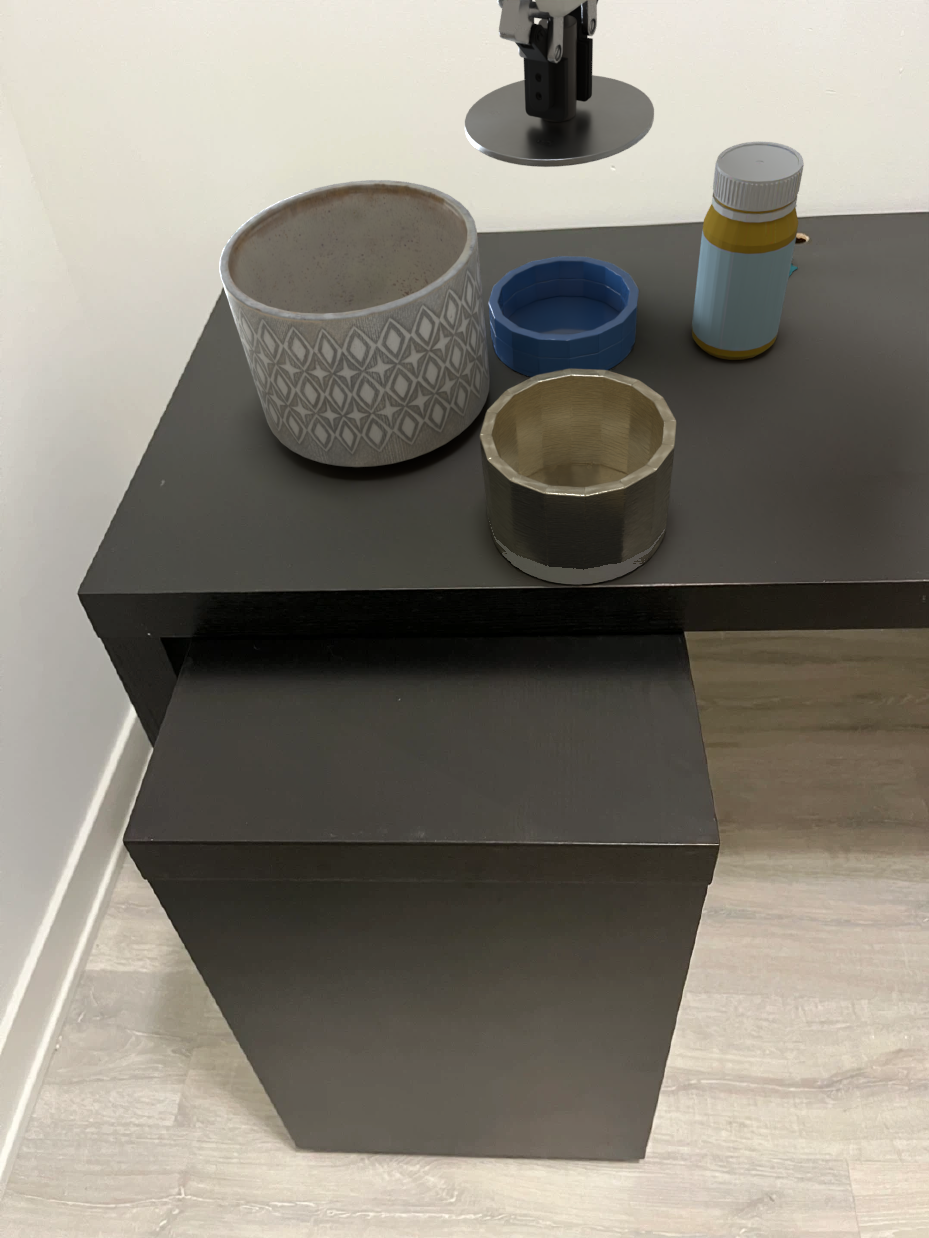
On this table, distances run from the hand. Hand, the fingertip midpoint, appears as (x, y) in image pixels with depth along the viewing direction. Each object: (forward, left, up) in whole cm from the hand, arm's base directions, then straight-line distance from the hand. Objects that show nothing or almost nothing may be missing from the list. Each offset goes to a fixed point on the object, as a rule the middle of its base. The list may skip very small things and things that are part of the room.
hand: (558, 105), depth 68 cm
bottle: (-13, -6, -19) cm, 24 cm away
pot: (-12, +19, -19) cm, 30 cm away
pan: (0, 0, -19) cm, 19 cm away
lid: (0, 0, -1) cm, 1 cm away
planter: (+9, +15, -19) cm, 26 cm away
